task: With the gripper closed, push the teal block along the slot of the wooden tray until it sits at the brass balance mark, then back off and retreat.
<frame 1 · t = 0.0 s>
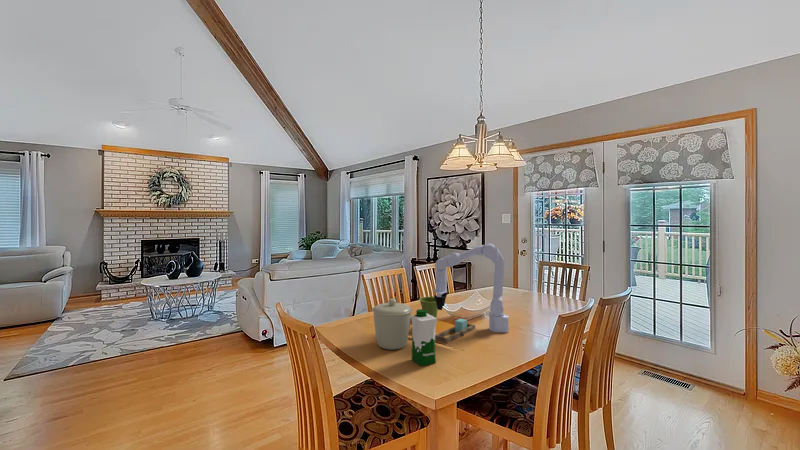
hand: (440, 307, 188), 10 cm above the table, fingers open, 7 cm apart
milk carton: (423, 361, 145), on the table
plant pot: (429, 319, 202), on the table
wooden tray: (455, 336, 174), on the table
teal block: (461, 325, 178), point 4 cm above the table, slide at -5.0 cm
canister: (392, 346, 162), on the table
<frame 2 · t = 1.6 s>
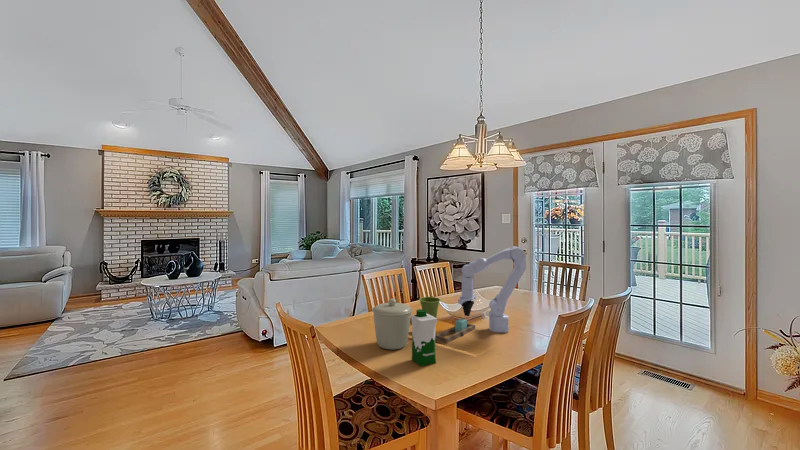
hand: (467, 315, 183), 8 cm above the table, fingers closed
nothing on the table moved.
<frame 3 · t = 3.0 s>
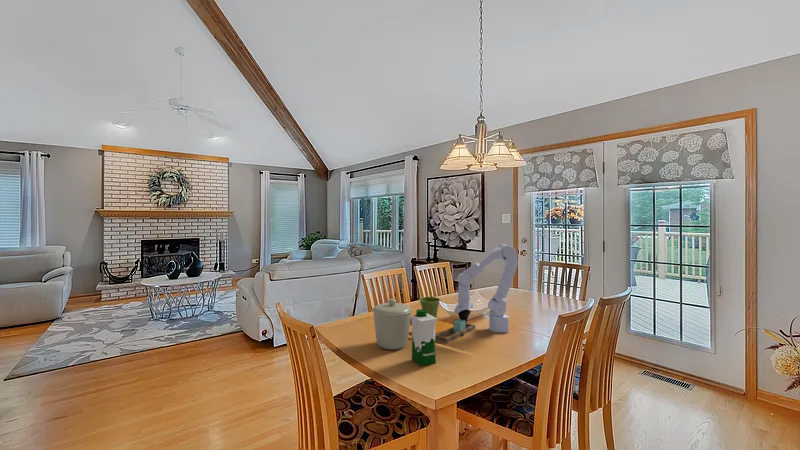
hand: (463, 324, 180), 4 cm above the table, fingers closed
teal block: (459, 326, 177), point 4 cm above the table, slide at -3.6 cm, touching gripper
everything else where it was.
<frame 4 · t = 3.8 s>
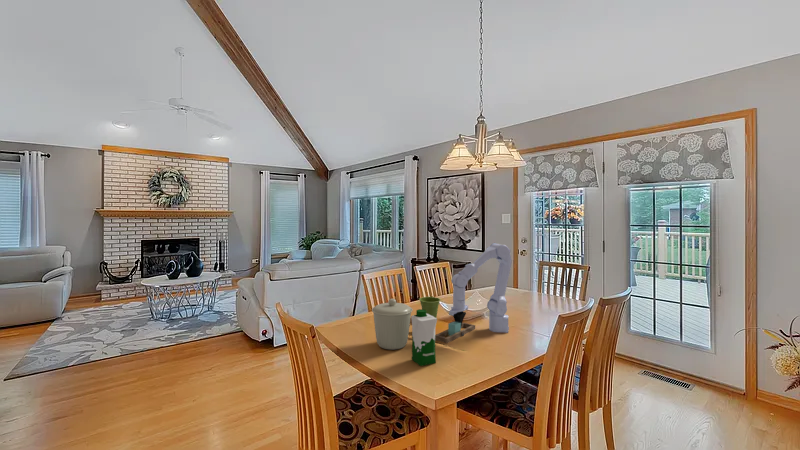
hand: (458, 326, 177), 4 cm above the table, fingers closed
teal block: (454, 328, 173), point 4 cm above the table, slide at 1.1 cm, touching gripper
everything else where it was.
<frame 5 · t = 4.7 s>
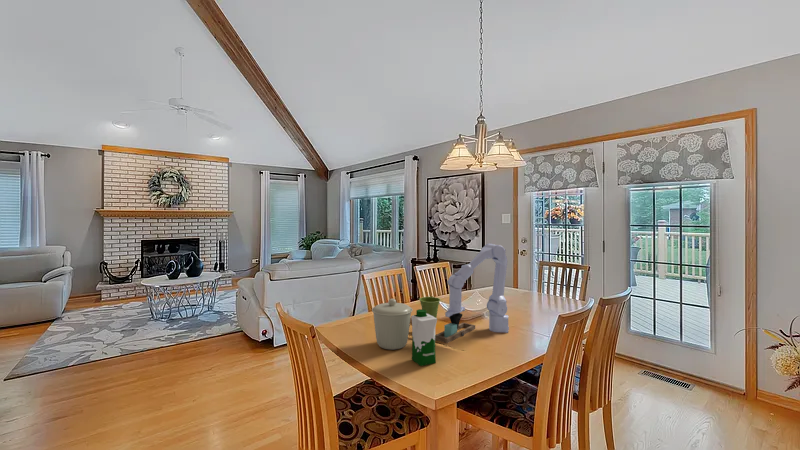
hand: (455, 328, 174), 4 cm above the table, fingers closed
teal block: (450, 330, 171), point 4 cm above the table, slide at 4.5 cm, touching gripper
everything else where it was.
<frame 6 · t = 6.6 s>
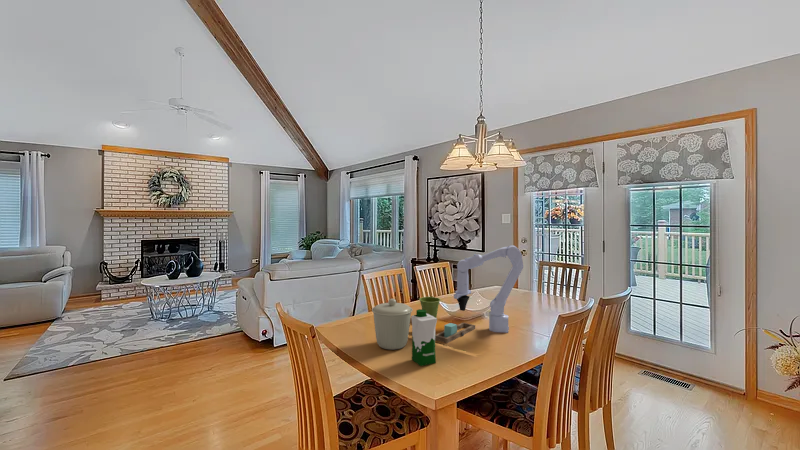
hand: (462, 310, 184), 10 cm above the table, fingers closed
teal block: (450, 330, 171), point 4 cm above the table, slide at 4.6 cm
everything else where it was.
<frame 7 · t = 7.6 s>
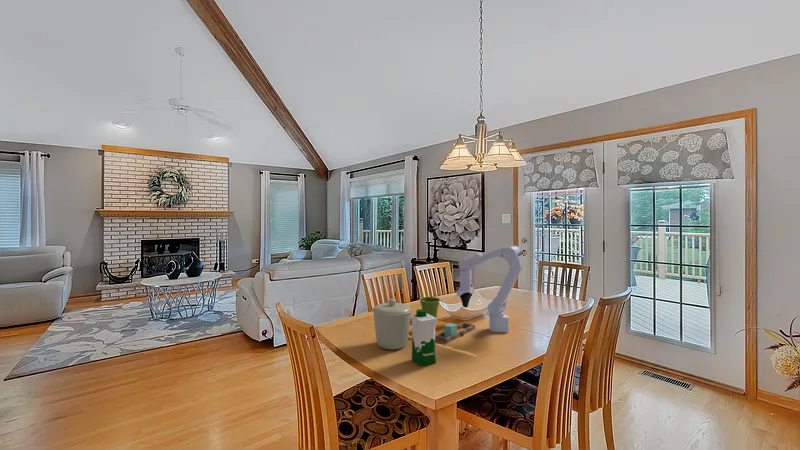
hand: (465, 306, 191), 10 cm above the table, fingers closed
nothing on the table moved.
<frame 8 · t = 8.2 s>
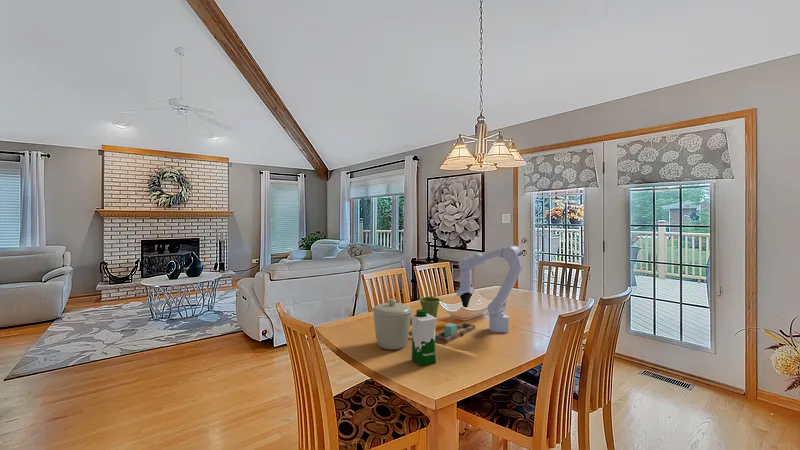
hand: (465, 306, 191), 10 cm above the table, fingers closed
nothing on the table moved.
at the end: teal block slide at 4.6 cm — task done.
